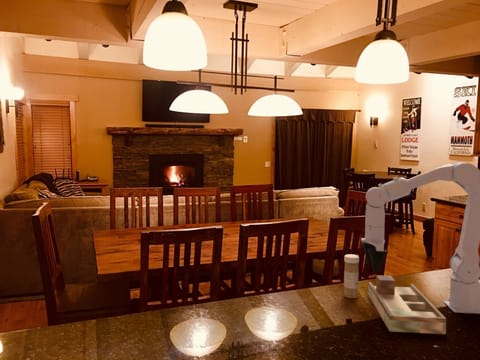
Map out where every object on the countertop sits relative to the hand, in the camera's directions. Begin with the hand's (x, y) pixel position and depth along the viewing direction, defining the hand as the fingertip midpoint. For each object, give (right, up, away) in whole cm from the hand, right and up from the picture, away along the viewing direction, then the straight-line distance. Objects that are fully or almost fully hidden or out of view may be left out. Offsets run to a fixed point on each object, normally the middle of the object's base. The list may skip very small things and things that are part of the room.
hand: (373, 267), depth 125 cm
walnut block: (+3, -7, -1) cm, 8 cm away
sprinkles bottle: (-6, -10, +3) cm, 12 cm away
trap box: (+5, -11, -9) cm, 15 cm away
